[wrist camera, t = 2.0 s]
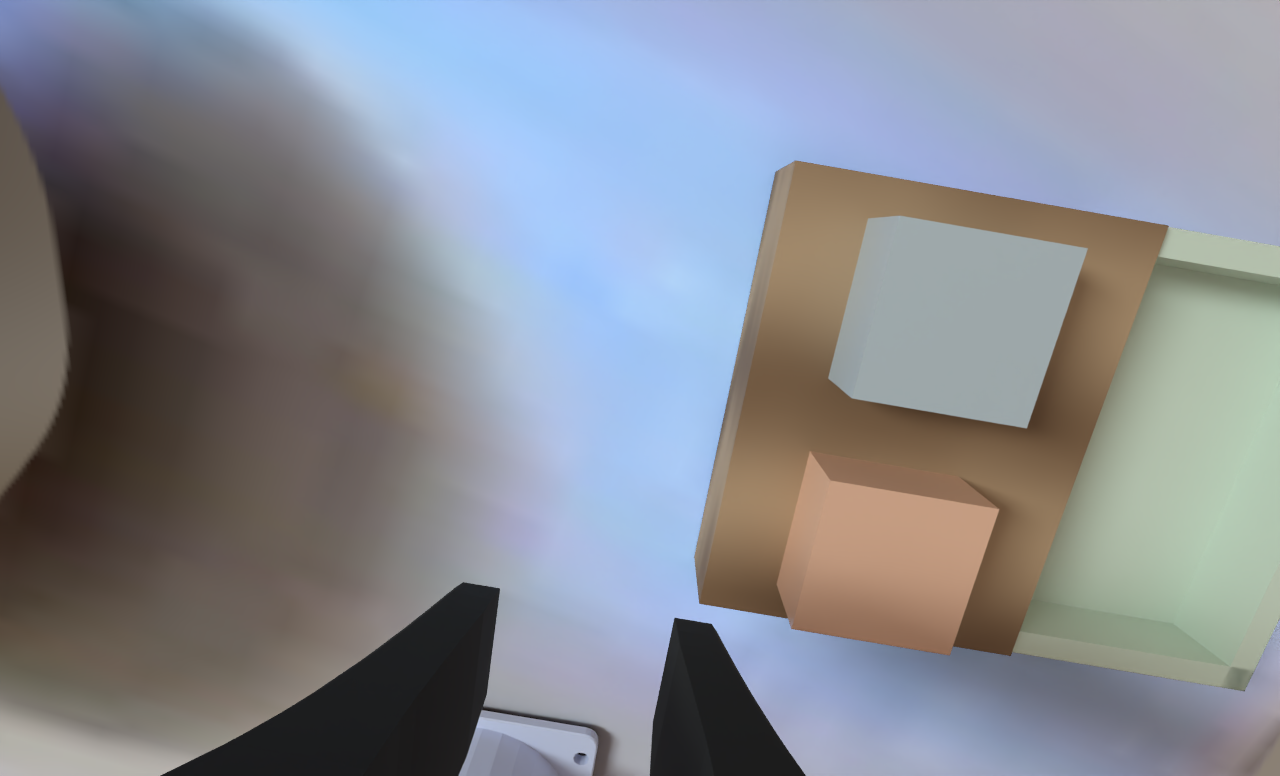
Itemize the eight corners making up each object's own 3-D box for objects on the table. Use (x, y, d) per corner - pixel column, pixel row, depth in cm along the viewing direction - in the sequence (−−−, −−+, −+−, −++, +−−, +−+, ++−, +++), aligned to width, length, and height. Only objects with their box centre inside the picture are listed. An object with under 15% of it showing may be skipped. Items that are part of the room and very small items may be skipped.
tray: (1176, 638, 20) (1244, 691, 18) (966, 603, 20) (1006, 651, 18) (1338, 270, 17) (1445, 275, 15) (1093, 227, 17) (1162, 226, 15)
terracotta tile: (916, 607, 17) (949, 655, 15) (776, 584, 17) (791, 628, 15) (958, 476, 16) (999, 509, 14) (809, 451, 16) (830, 480, 14)
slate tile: (981, 404, 16) (1027, 428, 14) (828, 378, 16) (851, 398, 14) (1031, 246, 15) (1087, 248, 13) (868, 218, 15) (899, 215, 13)
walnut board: (966, 603, 20) (1010, 655, 17) (694, 556, 20) (699, 603, 17) (1093, 227, 17) (1169, 226, 14) (775, 172, 17) (795, 160, 14)
